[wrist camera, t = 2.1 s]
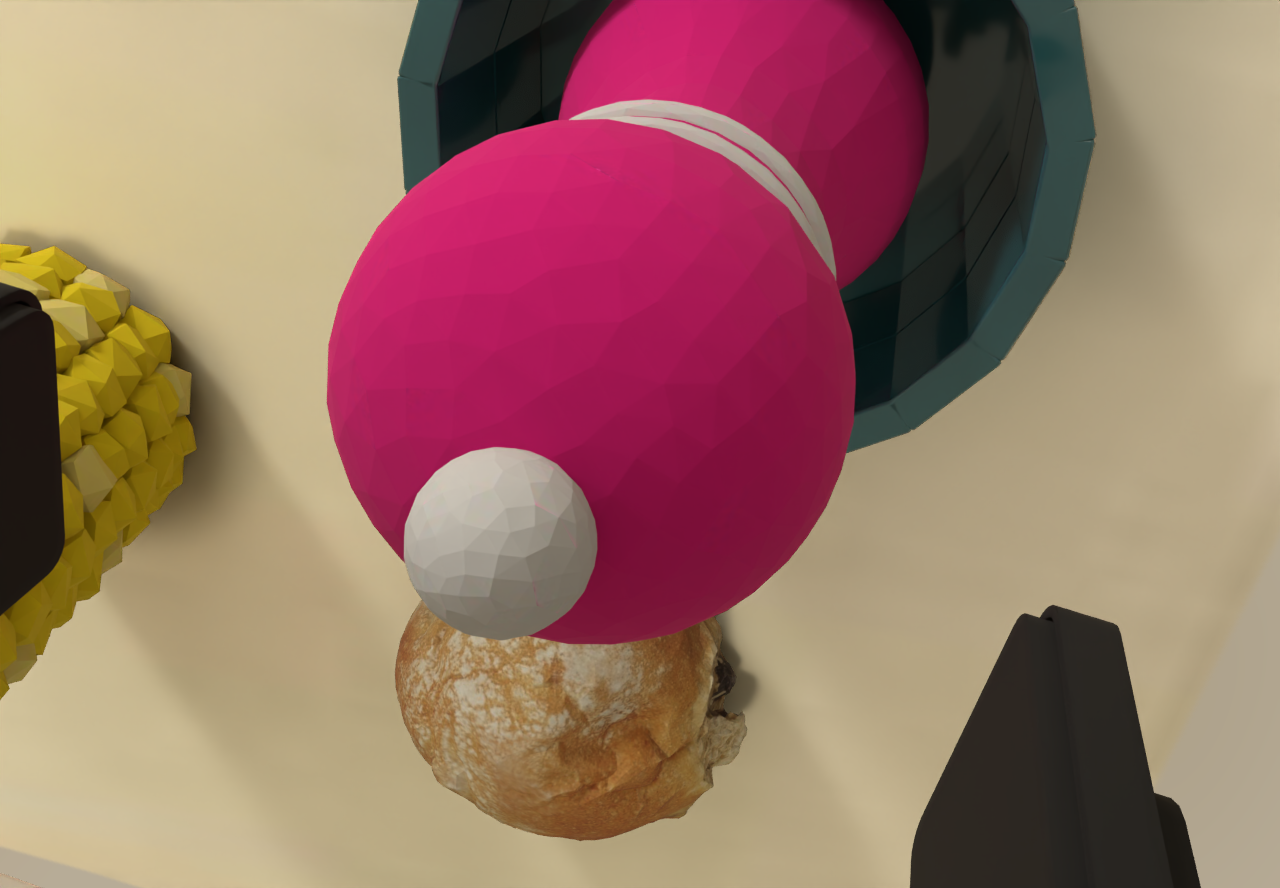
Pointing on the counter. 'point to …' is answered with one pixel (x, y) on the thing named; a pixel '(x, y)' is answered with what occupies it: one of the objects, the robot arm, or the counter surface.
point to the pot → (942, 205)
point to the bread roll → (569, 724)
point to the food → (97, 436)
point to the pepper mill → (631, 321)
